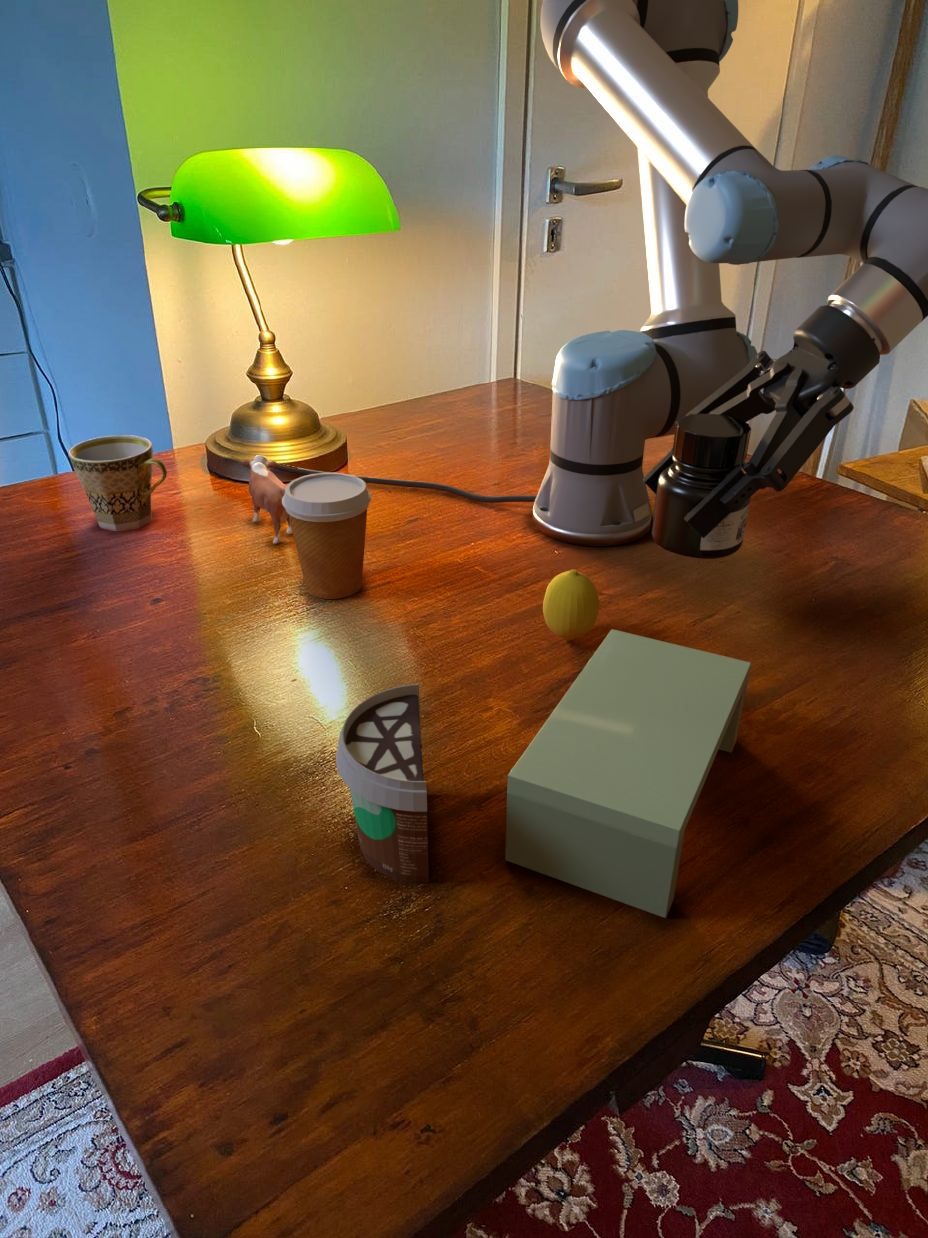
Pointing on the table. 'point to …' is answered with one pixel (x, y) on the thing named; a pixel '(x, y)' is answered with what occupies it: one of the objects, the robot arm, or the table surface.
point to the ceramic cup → (117, 479)
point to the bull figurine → (267, 493)
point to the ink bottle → (700, 485)
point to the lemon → (570, 605)
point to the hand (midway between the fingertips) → (671, 507)
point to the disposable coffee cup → (329, 531)
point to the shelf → (624, 768)
